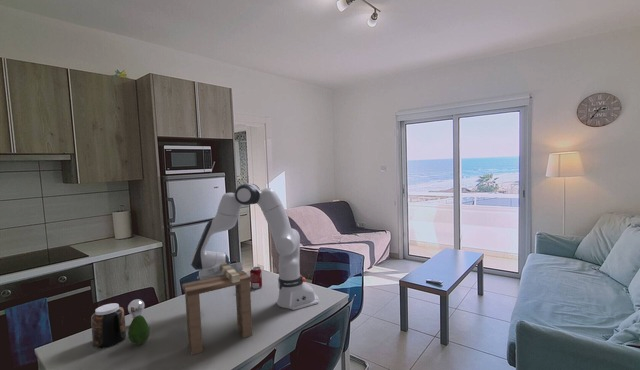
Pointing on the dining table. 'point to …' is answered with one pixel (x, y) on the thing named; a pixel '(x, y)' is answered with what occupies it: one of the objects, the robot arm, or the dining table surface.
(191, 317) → the walnut shelf
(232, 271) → the birch bar
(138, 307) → the light bulb
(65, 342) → the dining table surface
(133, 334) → the avocado
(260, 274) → the soda can
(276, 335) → the dining table surface
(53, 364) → the dining table surface
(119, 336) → the jar
